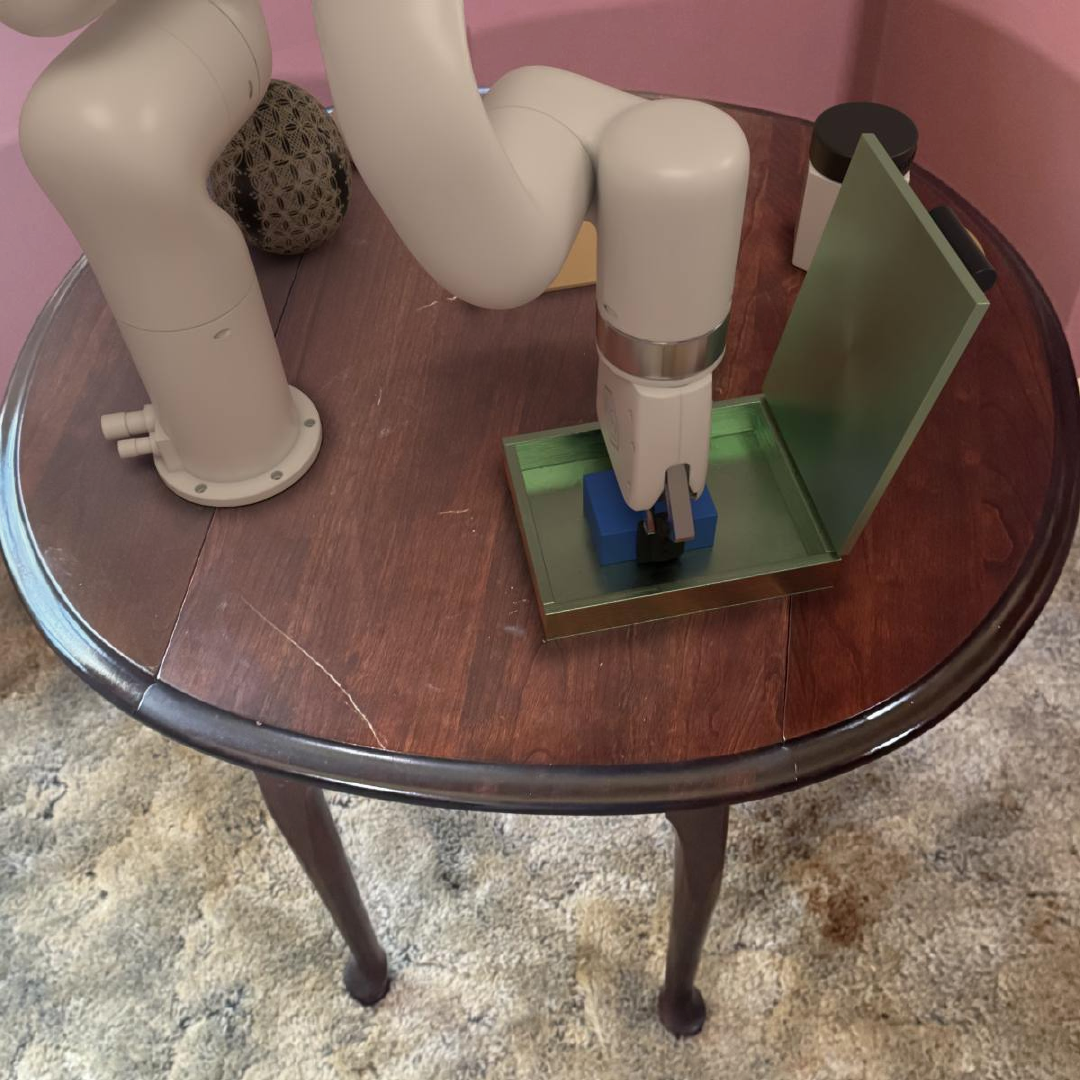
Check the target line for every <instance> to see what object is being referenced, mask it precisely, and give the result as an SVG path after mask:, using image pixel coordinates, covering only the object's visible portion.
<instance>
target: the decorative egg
mask: <svg viewBox="0 0 1080 1080" xmlns="http://www.w3.org/2000/svg"><path fill="white" fill-rule="evenodd" d="M351 167H352V166H351V161H350V160H349V156H348V153H347V149H346V146H345V144H344V141H343V138H342V136H341V134H340V132H339V130H338V128H337V126H336V124H335V122H334V121H333V119H332V118H331V114H330V113H329V112H328V111H327V108H325V106H324V105H322V103H321V102H320V101H318V100H317V99H316V98H315V97H314V96H313V95H312V94H311V93H309V92H308V91H307V90H305V89H303V88H302V87H300V86H298V85H297V84H296V83H292V82H289V81H286V80H282V79H279V78H271V79H270V83H269V86H268V89H267V91H266V93H265V95H264V97H263V99H262V100H261V102H260V104H259V105H258V107H257V108H256V109H255V111H254V112H253V113H252V115H251V116H250V117H249V118H248V120H247V121H246V122H245V123H244V125H243V126H242V127H241V128H240V130H239V131H238V132H237V133H236V135H235V136H234V137H233V138H232V140H231V141H230V142H229V143H228V145H227V146H226V148H225V150H224V151H223V153H222V154H221V155H220V157H219V158H218V159H217V160H216V162H215V163H214V164H213V166H212V167H211V169H210V171H209V179H210V183H211V189H212V192H213V195H214V198H215V201H216V204H217V205H218V206H219V207H220V208H222V209H223V210H224V211H226V212H227V213H228V214H229V215H230V216H231V217H232V218H233V219H234V221H235V222H236V223H237V225H238V227H239V228H240V230H241V232H242V234H243V236H244V239H245V241H246V243H249V244H251V245H252V246H254V247H256V248H257V249H260V250H262V251H264V252H267V253H271V254H276V255H283V256H292V255H301V254H305V253H308V252H310V251H313V250H316V249H318V248H319V247H321V246H322V245H324V244H325V243H326V242H328V241H329V240H330V239H331V238H332V237H333V236H334V235H335V234H336V233H337V232H338V230H339V228H340V227H341V226H342V224H343V223H344V220H345V218H346V216H347V213H348V212H349V211H348V210H349V209H350V204H351V200H352V193H353V172H352V168H351Z"/></svg>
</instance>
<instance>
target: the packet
mask: <svg viewBox="0 0 1080 1080" xmlns="http://www.w3.org/2000/svg"><path fill="white" fill-rule="evenodd" d="M690 503H691V510H692V518H693V525H694V533H695V538H694V539H692V540H687V541H685V546H684V551H685V550H691V549H696V548H702V547H707V546H712V545H713V544H714V538H715V531H716V525H717V518H718V513H717V511H716V508H715V506H714V503H713V500H712V498H711V495H710V493H709V490H708V488H707V485H706V482H705V486H704V489H703V492H702V494H701V496H700V497H699V498H698V499H697V500H696V501H695V500H694V499H693V498H690ZM583 507H584V511H585V514H586V517H587V521H588V524H589V528H590V531H591V534H592V538H593V541H594V545H595V548H596V551H597V555H598V558H599V562H600V565H601V566H602V565H608V564H613V563H619V562H624V561H630V560H635V559H637V557H636V548H637V531H638V522H639V521H641V520H643V510H642V511H635V510H633V509H631V508H630V507H629V506H628V505H627V503H626V502H625V500H624V498H623V495H622V492H621V489H620V487H619V484H618V481H617V478H616V475H615V472H614V469H613V470H607V471H601V472H596V473H590V474H584V475H583ZM666 511H668V510H667V502H666V500H664V501H658V502H655V513H660V512H666Z"/></svg>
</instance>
